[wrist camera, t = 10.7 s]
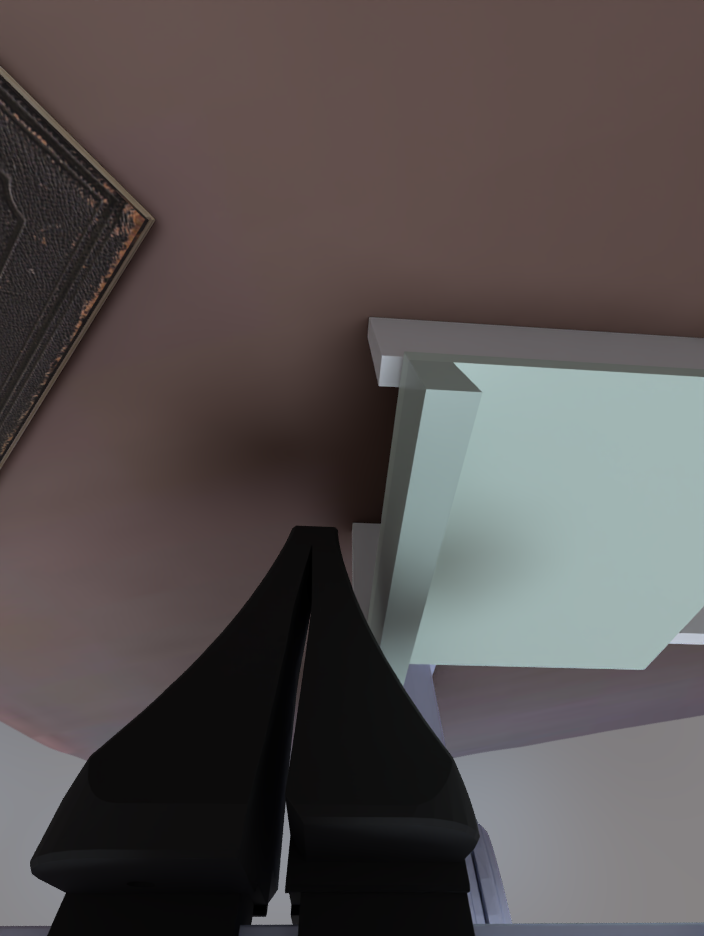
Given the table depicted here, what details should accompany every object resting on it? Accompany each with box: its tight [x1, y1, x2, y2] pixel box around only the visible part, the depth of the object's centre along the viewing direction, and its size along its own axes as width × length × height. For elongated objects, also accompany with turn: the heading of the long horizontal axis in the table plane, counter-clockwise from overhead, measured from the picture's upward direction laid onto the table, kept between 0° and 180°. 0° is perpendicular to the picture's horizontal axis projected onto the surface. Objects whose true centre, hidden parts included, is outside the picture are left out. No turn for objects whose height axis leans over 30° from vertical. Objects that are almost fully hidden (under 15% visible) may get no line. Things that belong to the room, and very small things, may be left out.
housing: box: [352, 317, 704, 644], centre depth 15 cm, size 12×26×6 cm, turn 87°
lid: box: [367, 351, 704, 685], centre depth 11 cm, size 12×12×3 cm
